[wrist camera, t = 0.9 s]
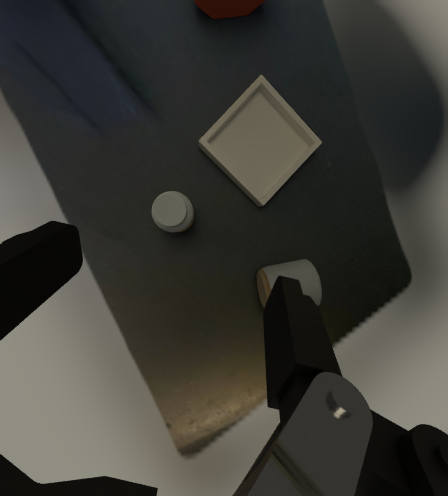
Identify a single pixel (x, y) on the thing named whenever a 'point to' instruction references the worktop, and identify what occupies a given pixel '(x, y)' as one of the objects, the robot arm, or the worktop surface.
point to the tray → (259, 142)
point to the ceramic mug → (295, 270)
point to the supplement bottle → (173, 212)
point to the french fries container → (228, 7)
